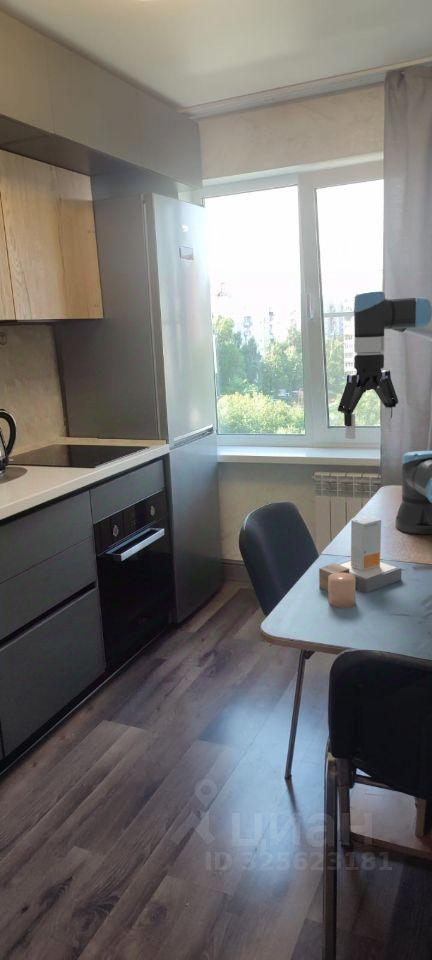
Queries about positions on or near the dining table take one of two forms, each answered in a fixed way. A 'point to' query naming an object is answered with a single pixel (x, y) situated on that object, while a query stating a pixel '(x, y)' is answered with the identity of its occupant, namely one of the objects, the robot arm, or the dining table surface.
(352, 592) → the peach rounded capsule
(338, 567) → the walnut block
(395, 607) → the dining table surface
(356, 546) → the skincare box
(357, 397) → the robot arm
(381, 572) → the podium
